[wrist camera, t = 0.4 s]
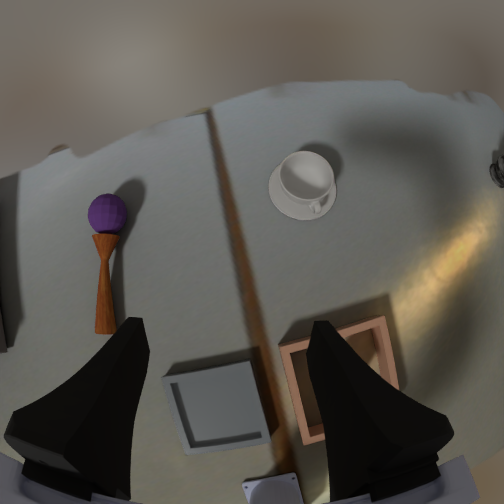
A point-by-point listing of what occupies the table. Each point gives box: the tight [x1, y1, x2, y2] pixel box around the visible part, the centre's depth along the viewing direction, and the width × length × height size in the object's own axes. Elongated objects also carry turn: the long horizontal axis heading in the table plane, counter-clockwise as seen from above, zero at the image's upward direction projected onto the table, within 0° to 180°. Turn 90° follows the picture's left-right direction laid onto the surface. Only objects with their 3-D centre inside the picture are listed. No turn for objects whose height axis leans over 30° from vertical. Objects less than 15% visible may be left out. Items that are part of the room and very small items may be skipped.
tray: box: [161, 359, 271, 455], centre depth 36 cm, size 12×12×2 cm
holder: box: [278, 315, 399, 445], centre depth 35 cm, size 14×14×4 cm
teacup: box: [268, 151, 337, 220], centre depth 40 cm, size 10×10×5 cm
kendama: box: [88, 194, 127, 334], centre depth 39 cm, size 6×6×20 cm
